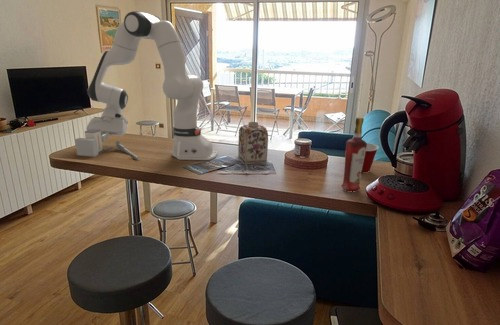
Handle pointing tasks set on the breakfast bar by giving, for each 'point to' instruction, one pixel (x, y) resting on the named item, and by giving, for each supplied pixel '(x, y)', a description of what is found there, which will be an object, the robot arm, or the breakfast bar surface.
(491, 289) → the breakfast bar surface
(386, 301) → the breakfast bar surface
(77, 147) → the grey holder
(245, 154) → the decorative jar
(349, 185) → the liquor
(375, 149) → the plastic cup
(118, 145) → the caliper
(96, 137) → the cream rectangular box
